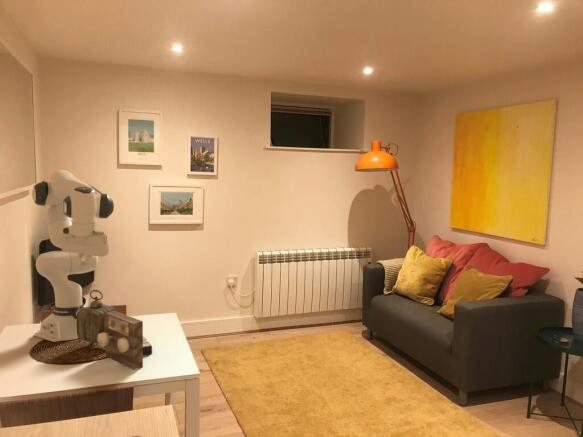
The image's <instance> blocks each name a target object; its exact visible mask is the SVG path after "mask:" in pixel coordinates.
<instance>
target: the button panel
mask: <svg viewBox="0 0 583 437" xmlns="http://www.w3.org/2000/svg"><path fill="white" fill-rule="evenodd" d="M143 327H144V325H143V320H140V319H137V318H135V317H133V316H129V315H127V314H124V313H122V312H118V311H116V310H115V311H111V312H107V313H105V332H106V333H107V334H108V336H111V335H113V339H110V340H109V344H108V345H107V346H105V357H106V356H107V357H106V358H108V357H109V359H110V360H112V361H114V362H117V363H118V364H121V365H122V366H124V367H127V368H129V369H131V370H133V371H135V370H137V369H140V368H143V367H144V366H143V364H144V356H143V336H144V335H143V334H144V332H143V330H144V329H143ZM121 338H127V339H128V341H129V344H130V348H129V350H128V351H126V352H123V353H122V352H120V351H119V349H118V346H117V342H118V340H119V339H121Z"/></svg>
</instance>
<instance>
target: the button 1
mask: <svg viewBox="0 0 583 437" xmlns="http://www.w3.org/2000/svg"><path fill="white" fill-rule="evenodd" d="M110 339H113V335H111V336H108V334H107V333H106V332H104V333H100V334H98V336H97V341H98V343H97V344H98V346H100V347H101V348H102V347H106V346H107V345H108V344H109V340H110Z"/></svg>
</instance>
